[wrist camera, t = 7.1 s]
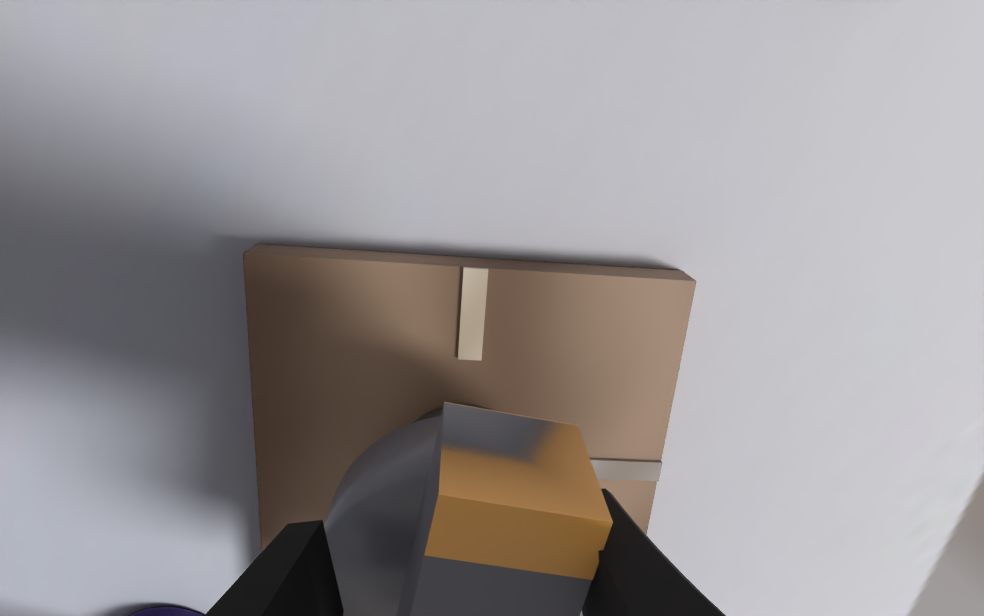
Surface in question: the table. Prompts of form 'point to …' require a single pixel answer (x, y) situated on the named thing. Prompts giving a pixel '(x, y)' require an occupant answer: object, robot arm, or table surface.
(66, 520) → the table surface
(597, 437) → the knob base
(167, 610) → the toy lamp
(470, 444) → the twist knob
